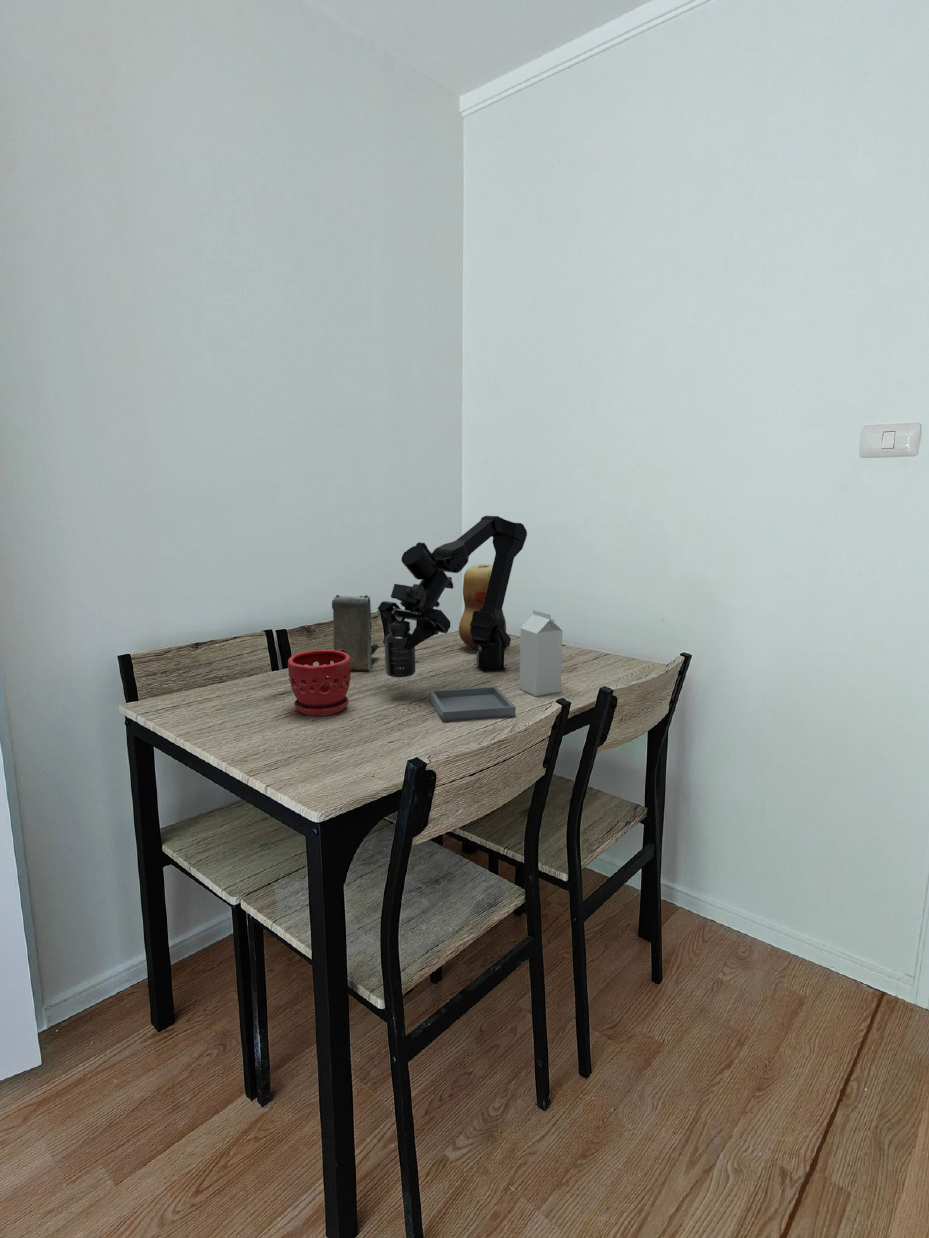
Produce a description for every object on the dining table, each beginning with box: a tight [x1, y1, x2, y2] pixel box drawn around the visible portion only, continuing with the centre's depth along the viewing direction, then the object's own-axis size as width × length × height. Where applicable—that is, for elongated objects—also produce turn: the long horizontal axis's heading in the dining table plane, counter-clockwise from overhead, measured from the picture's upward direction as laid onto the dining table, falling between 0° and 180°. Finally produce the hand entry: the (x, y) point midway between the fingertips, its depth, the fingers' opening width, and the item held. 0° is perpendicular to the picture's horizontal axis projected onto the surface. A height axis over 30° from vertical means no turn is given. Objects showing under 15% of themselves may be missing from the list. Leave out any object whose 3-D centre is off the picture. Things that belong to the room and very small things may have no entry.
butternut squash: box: [458, 563, 507, 651], centre depth 208 cm, size 14×13×25 cm
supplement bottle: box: [384, 620, 416, 678], centre depth 163 cm, size 7×7×12 cm
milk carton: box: [519, 609, 563, 697], centre depth 168 cm, size 7×7×19 cm
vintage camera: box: [331, 594, 380, 672], centre depth 192 cm, size 10×15×20 cm, turn 174°
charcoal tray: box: [428, 685, 517, 723], centre depth 157 cm, size 16×16×2 cm
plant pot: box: [287, 649, 352, 717], centre depth 155 cm, size 13×13×12 cm
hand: (395, 646), depth 162 cm, fingers closed on supplement bottle, 7 cm apart
